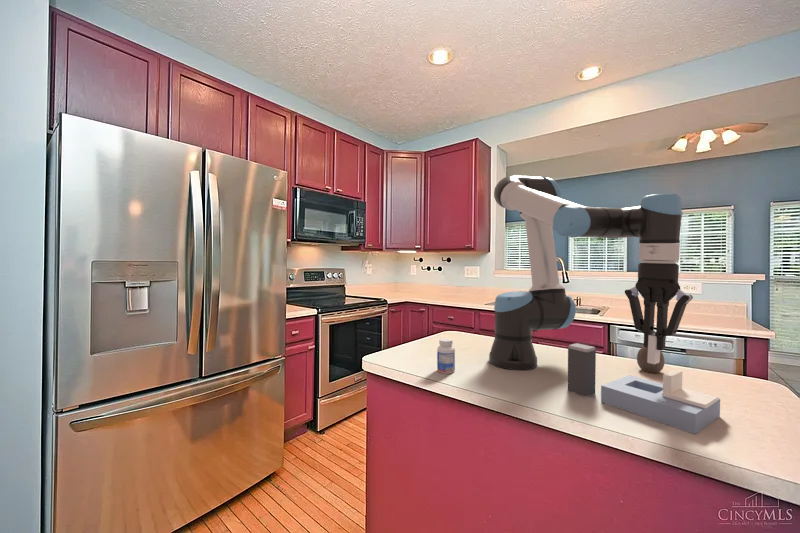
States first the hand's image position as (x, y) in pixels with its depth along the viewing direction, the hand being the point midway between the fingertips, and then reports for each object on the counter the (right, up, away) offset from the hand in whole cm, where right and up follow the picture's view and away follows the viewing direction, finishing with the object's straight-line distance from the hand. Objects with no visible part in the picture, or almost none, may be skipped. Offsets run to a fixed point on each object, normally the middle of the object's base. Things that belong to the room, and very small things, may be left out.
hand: (653, 362), depth 80 cm
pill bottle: (-45, -10, +25) cm, 53 cm away
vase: (+17, -10, +25) cm, 32 cm away
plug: (-13, -10, +8) cm, 18 cm away
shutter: (+3, -6, -6) cm, 9 cm away
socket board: (0, -10, -2) cm, 10 cm away
